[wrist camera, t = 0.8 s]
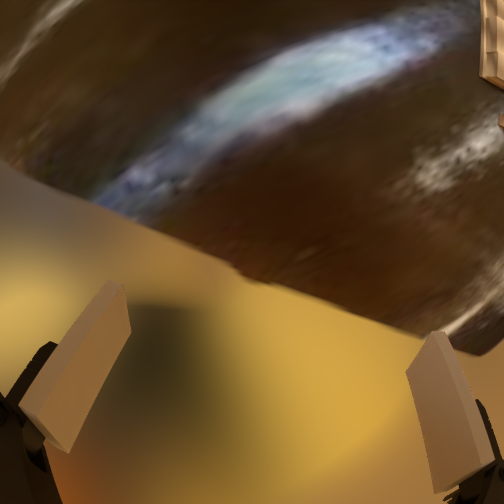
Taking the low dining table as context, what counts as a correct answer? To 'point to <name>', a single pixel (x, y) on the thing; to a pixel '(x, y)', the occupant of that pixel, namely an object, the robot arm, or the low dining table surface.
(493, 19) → the dock
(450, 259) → the low dining table surface
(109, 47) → the low dining table surface
